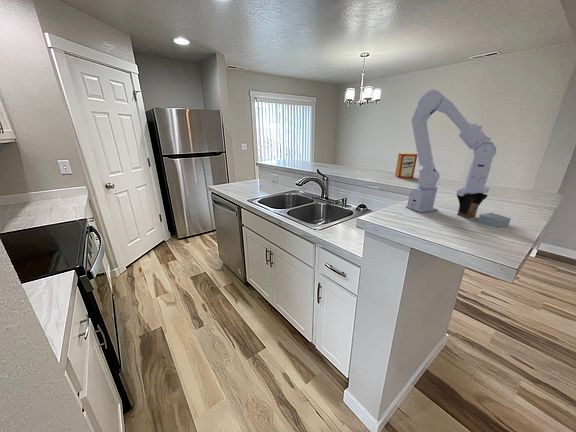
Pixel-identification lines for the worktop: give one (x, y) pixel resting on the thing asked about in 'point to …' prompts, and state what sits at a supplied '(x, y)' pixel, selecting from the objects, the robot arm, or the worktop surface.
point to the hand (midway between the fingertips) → (467, 212)
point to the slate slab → (494, 220)
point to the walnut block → (470, 211)
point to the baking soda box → (406, 165)
